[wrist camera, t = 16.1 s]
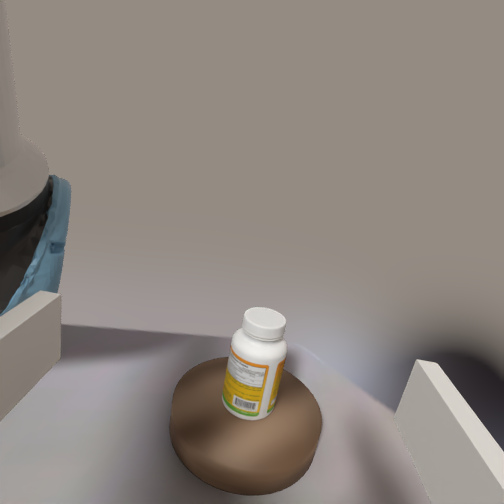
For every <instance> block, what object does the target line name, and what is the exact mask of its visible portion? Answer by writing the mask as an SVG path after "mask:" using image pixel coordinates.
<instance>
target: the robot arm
mask: <svg viewBox="0 0 504 504" xmlns="http://www.w3.org/2000/svg"><path fill="white" fill-rule="evenodd" d="M70 202H71V185H70V184H69V182H68V181H67V180H65V179H62V178H59V177H57V176H55V175H49V168H48V164H47V161H46V158H45V156H44V154H43V153H42V151H41V150H40V148H38V146H37V145H36V144H34V143H33V142H32V141H31V140H29V139H28V138H27V137H25V136H23V135H22V134H20V127H19V119H18V111H17V101H16V92H15V83H14V74H13V65H12V56H11V48H10V40H9V29H8V21H7V12H6V3H5V0H0V421H1V420H2V419H3V418H4V417H5V416H6V415H7V414H8V413H9V412H10V411H11V410H12V409H13V408H14V407H15V406H16V405H17V403H18V402H19V401H20V400H21V399H22V398H23V397H24V396H25V395H26V394H27V393H28V392H29V391H30V390H31V389H32V388H33V387H34V386H35V385H36V384H37V383H38V381H39V380H40V379H41V378H42V377H43V376H44V375H45V374H46V373H47V372H48V371H49V370H50V369H51V368H52V367H53V366H54V365H55V364H56V363H57V362H58V361H59V360H60V358H61V294H57V292H58V287H59V283H60V278H61V272H62V266H63V259H64V246H65V243H66V236H67V231H68V223H69V214H70ZM394 421H395V423H396V425H397V427H398V430H399V432H400V434H401V436H402V439H403V441H404V443H405V445H406V448H407V450H408V452H409V454H410V457H411V459H412V461H413V463H414V466H415V468H416V470H417V472H418V475H419V477H420V479H421V481H422V484H423V486H424V488H425V490H426V493H427V495H428V497H429V499H430V502H431V504H504V452H503V451H502V449H501V448H500V447H499V445H498V444H497V443H496V441H495V440H494V439H493V437H492V436H491V435H490V433H489V432H488V431H487V429H486V428H485V427H484V425H483V424H482V423H481V421H480V420H479V419H478V417H477V416H476V415H475V413H474V412H473V411H472V409H471V408H470V407H469V405H468V404H467V403H466V401H465V400H464V399H463V397H462V396H461V395H460V393H459V392H458V391H457V389H456V388H455V387H454V385H453V384H452V382H451V381H450V380H449V378H448V377H447V376H446V374H445V373H444V372H443V370H442V369H441V368H440V367H439V365H438V364H437V363H433V362H428V361H422V360H416V362H415V365H414V367H413V370H412V372H411V375H410V378H409V380H408V383H407V385H406V388H405V391H404V393H403V396H402V399H401V401H400V404H399V406H398V409H397V412H396V414H395V417H394Z"/></svg>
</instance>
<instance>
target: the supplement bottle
mask: <svg viewBox="0 0 504 504" xmlns="http://www.w3.org/2000/svg"><path fill="white" fill-rule="evenodd" d="M285 326H286V319H285V317H284V316H283V315H282V314H280V313H279V312H277V311H275V310H272V309H268V308H263V307H254V308H250V309H248V310H246V312H245V313H244V318H243V322H242V328H240V329H238V330H237V331H236V332H235V333H234V335H233V337H232V341H231V347H230V353H229V358H228V364H227V369H226V375H225V380H224V386H223V392H222V400H223V404H224V406H225V407H226V409H227V410H228V411H229V412H230V413H232V414H233V415H235V416H236V417H239V418H241V419H244V420H251V421H254V420H260V419H263V418H265V417H267V416H268V415H269V414H270V413H271V412H272V410H273V408H274V405H275V401H276V397H277V392H278V388H279V384H280V380H281V376H282V372H283V367H284V363H285V359H286V354H287V343H286V341H285V339H284V338H283V334H284V332H285Z"/></svg>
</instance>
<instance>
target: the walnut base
mask: <svg viewBox="0 0 504 504" xmlns="http://www.w3.org/2000/svg"><path fill="white" fill-rule="evenodd" d="M228 358H229V357H224V358H217V359H212V360H209V361H206V362H203V363H201V364H199V365H197V366H195V367H193V368H192V369H191V370H189V371H188V372H187V373H186V374H185V375H184V376H183V377H182V378H181V379H180V381H179V382H178V384H177V386H176V388H175V391H174V394H173V402H172V410H171V418H170V437H171V441H172V445H173V447H174V450H175V452H176V453H177V455H178V457H179V459H180V460H181V461H182V462H183V464H184V465H185V466H186V467H187V468H188V469H189V470H190V471H191V472H192V473H193V474H194V475H195V476H197V477H198V478H200V479H201V480H202V481H204V482H206V483H208V484H209V485H211V486H213V487H216V488H218V489H221V490H223V491H227V492H231V493H235V494H241V495H265V494H271V493H274V492H278V491H281V490H283V489H285V488H287V487H290V486H291V485H293V484H294V483H296V482H297V481H298V480H299V479H300V478H301V477H302V476H303V475H304V474H305V473H306V471H307V470H308V469H309V467H310V465H311V463H312V460H313V457H314V454H315V450H316V447H317V443H318V440H319V436H320V433H321V428H322V416H321V412H320V408H319V406H318V403H317V401H316V399H315V398H314V396H313V394H312V393H311V392H310V391H309V389H308V388H307V387H306V386H305V385H304V384H303V383H302V382H301V381H300V380H298V379H297V378H296V377H295V376H293V375H292V374H290V373H289V372H287V371H285V370H284V369H283V372H282V376H281V380H280V384H279V388H278V392H277V397H276V401H275V405H274V408H273V410H272V412H271V413H270V414H269V415H268V416H267V417H265V418H263V419H260V420H254V421H251V420H244V419H241V418H239V417H236V416H235V415H233V414H232V413H230V412H229V411H228V410H227V409H226V407H225V406H224V404H223V400H222V392H223V386H224V380H225V375H226V369H227V364H228Z"/></svg>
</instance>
